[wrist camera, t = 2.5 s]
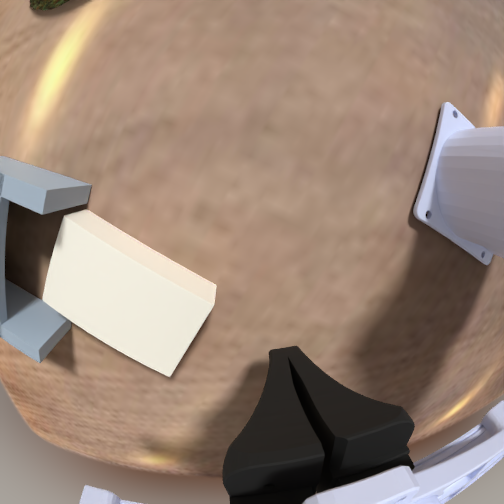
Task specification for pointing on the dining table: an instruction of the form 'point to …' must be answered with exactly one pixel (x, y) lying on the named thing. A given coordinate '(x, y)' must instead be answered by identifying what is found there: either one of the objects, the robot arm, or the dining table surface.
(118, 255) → the cream rectangular block
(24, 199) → the bracket
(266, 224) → the dining table surface
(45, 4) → the seashell
